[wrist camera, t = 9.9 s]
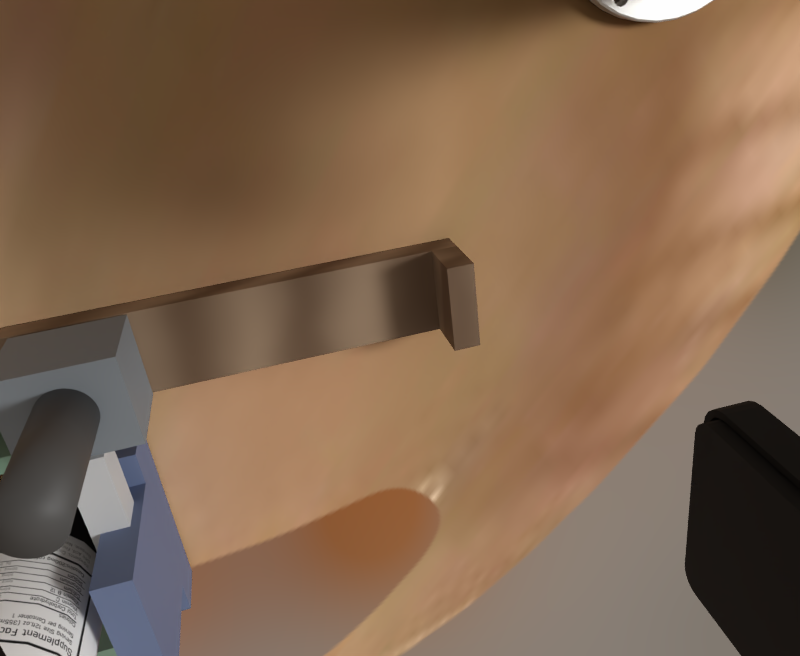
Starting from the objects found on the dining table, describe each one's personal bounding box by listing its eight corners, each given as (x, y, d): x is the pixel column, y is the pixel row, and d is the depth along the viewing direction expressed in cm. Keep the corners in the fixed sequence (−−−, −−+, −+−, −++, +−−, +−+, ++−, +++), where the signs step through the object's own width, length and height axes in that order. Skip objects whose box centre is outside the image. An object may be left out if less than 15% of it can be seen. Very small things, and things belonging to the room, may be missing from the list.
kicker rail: (448, 238, 42) (473, 263, 38) (455, 313, 44) (480, 345, 40) (-97, 347, 37) (-134, 389, 33) (-58, 425, 39) (-88, 474, 35)
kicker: (129, 304, 38) (88, 454, 26) (214, 565, 47) (215, 774, 34) (14, 327, 37) (-87, 495, 25) (122, 589, 46) (89, 813, 34)
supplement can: (143, 541, 45) (115, 763, 32) (18, 590, 45) (-62, 838, 32) (81, 445, 42) (20, 654, 28) (-56, 498, 41) (-184, 736, 28)
